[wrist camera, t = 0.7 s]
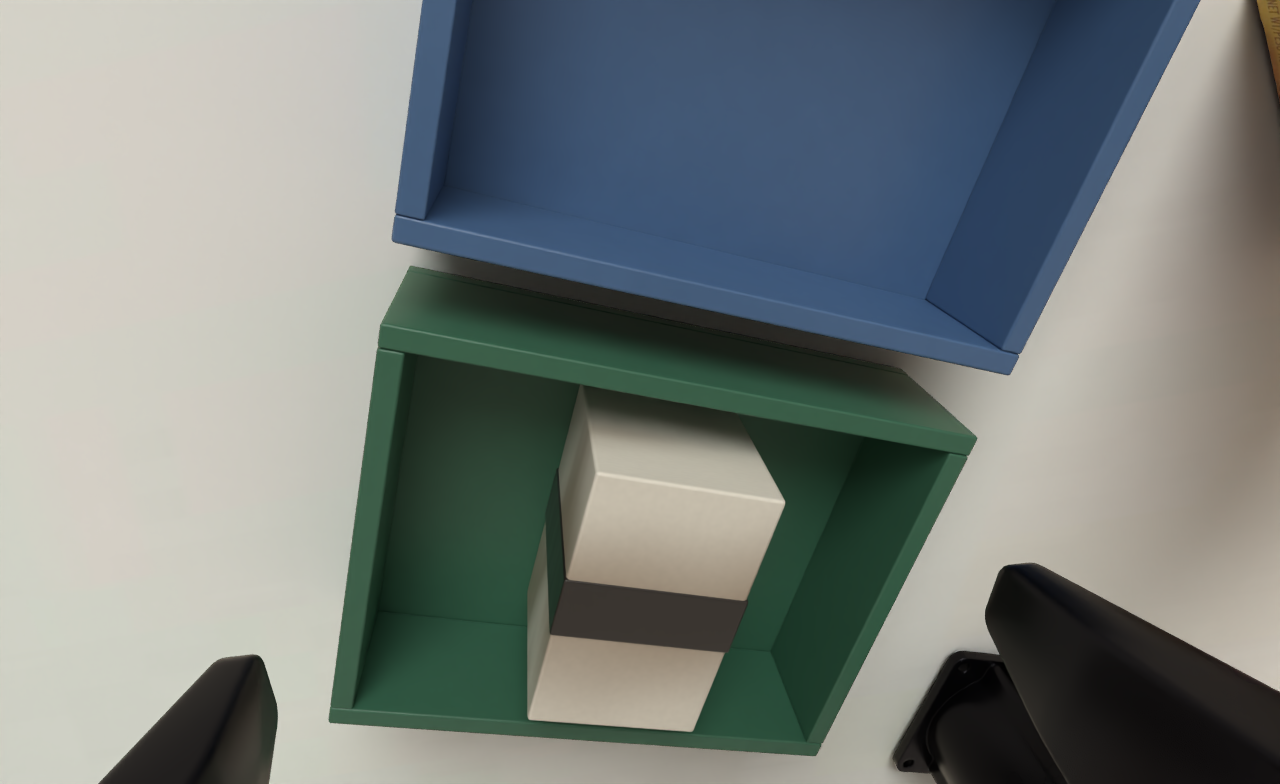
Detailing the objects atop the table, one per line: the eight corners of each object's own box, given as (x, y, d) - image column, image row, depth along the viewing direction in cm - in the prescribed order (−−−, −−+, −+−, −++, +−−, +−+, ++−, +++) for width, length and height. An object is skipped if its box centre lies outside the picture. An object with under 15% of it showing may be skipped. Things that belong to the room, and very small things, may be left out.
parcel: (664, 606, 26) (695, 735, 21) (525, 590, 25) (524, 723, 20) (735, 405, 23) (790, 503, 18) (579, 376, 21) (594, 473, 17)
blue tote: (925, 316, 23) (1010, 377, 19) (419, 198, 19) (390, 242, 15) (1130, -147, 18) (1303, -199, 14) (507, -416, 14) (499, -589, 10)
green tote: (775, 654, 28) (816, 757, 24) (360, 611, 25) (327, 724, 21) (902, 368, 23) (979, 437, 19) (409, 264, 20) (379, 323, 16)
